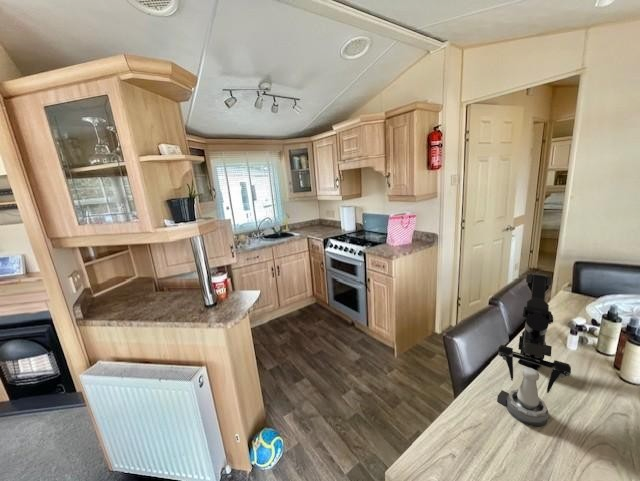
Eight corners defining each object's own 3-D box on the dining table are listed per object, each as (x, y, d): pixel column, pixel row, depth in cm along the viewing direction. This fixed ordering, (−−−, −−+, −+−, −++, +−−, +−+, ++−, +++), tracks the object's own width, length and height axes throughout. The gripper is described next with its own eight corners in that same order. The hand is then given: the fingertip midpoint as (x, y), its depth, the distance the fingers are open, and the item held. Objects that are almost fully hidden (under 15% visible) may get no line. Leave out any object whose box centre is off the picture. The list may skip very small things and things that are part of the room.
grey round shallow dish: (493, 406, 92) (494, 395, 91) (504, 390, 99) (505, 380, 98) (542, 433, 82) (543, 421, 81) (551, 413, 88) (553, 402, 87)
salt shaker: (538, 402, 89) (542, 369, 86) (538, 414, 85) (543, 379, 82) (516, 395, 93) (520, 362, 90) (515, 406, 88) (519, 372, 86)
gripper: (501, 324, 92) (494, 369, 87) (574, 342, 81) (572, 395, 75) (502, 334, 100) (495, 376, 94) (569, 351, 88) (566, 401, 82)
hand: (529, 386), depth 86 cm, fingers open, 9 cm apart
